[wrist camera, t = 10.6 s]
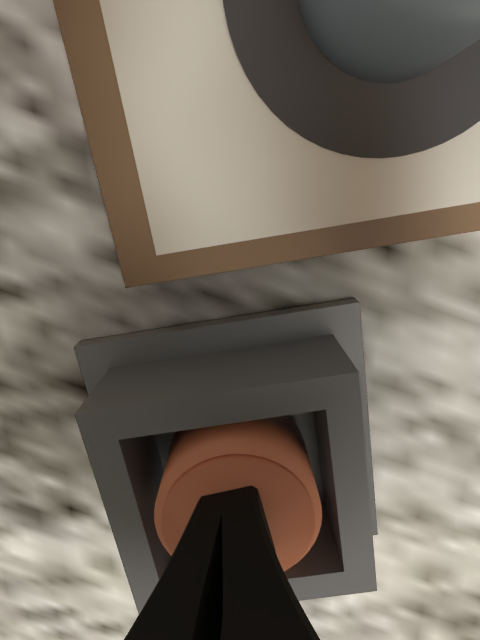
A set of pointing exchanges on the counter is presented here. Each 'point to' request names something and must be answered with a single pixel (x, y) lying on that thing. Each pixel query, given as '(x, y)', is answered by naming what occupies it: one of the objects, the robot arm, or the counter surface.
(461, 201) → the cream rectangular board
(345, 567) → the button housing
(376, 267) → the counter surface
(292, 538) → the button
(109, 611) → the counter surface
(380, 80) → the grey canister
